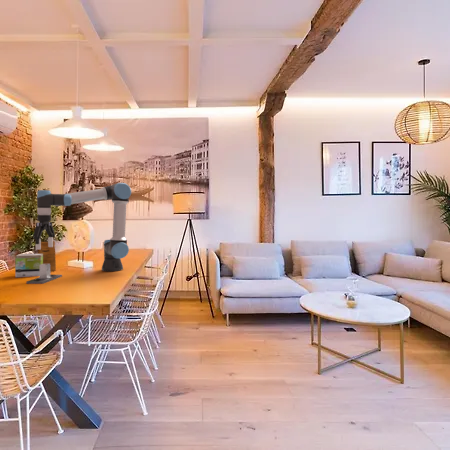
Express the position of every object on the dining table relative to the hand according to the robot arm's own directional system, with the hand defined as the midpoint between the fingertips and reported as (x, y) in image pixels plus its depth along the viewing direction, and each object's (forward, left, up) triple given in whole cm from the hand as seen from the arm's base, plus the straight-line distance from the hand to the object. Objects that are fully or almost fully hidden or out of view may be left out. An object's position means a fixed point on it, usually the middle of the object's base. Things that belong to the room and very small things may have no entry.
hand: (44, 248), depth 202 cm
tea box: (-15, -19, -21) cm, 32 cm away
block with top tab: (0, 0, -20) cm, 20 cm away
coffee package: (-33, -18, -21) cm, 43 cm away
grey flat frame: (0, 0, -21) cm, 21 cm away
